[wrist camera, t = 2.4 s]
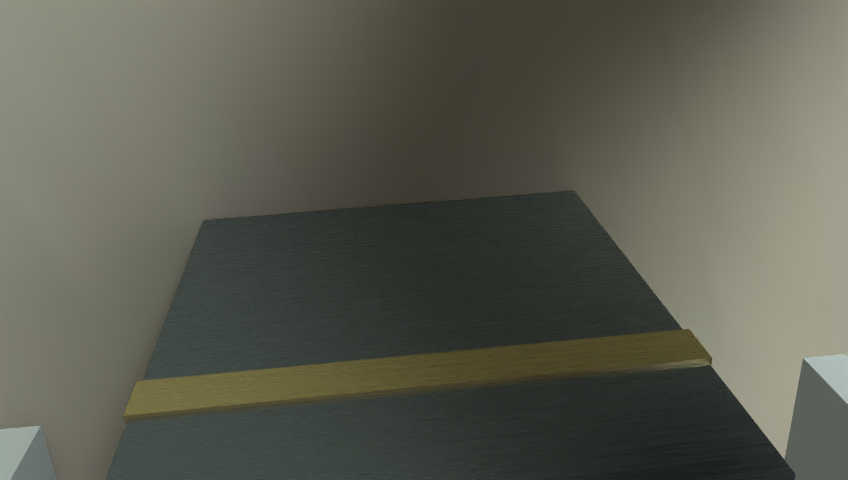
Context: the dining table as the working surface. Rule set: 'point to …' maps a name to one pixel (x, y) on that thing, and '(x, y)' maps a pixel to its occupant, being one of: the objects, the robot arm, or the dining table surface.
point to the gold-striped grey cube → (430, 356)
